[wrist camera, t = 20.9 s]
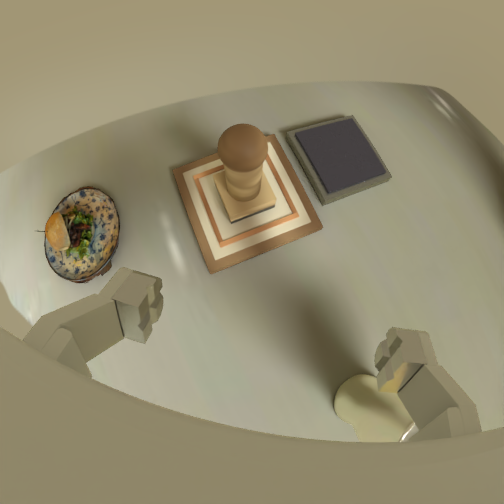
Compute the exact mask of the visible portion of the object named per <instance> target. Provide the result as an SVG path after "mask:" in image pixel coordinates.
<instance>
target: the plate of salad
mask: <svg viewBox="0 0 504 504" xmlns="http://www.w3.org/2000/svg"><path fill="white" fill-rule="evenodd" d="M119 230H120V221H119V215H118V212H117V209H116V206H115V203H114V201H113V199H112V198H110V197H109V196H108V195H106V194H105V193H103V192H102V191H101V190H99V189H96V188H93V187H82V188H79V189H78V190H77V191H76V192H74V193H70V194H69V195H68V196H67V197H64V198H63V199H62V200H61V202H60V203H59V204H58V205H57V207H56V208H55V210H54V211H53V213H52V215H51V217H50V218H49V219H48V221H47V223H46V227H45V231H38V232H45V243H44V247H45V255H46V258H47V260H48V263H49V265H50V267H51V268H52V269H53V270H54V272H55V273H56V274H58V275H59V276H60V277H62V278H64V279H66V280H69V281H71V282H75V283H85V282H86V281H90V280H91V278H92V279H93V278H94V277H95V276H99V275H100V274H101V275H103V274H104V273H106V272H107V270H108V271H109V269H110V268H111V267H112V266H111V262H110V261H111V259H112V257H113V255H114V253H115V251H116V249H117V247H118V237H119ZM86 283H88V282H86Z"/></svg>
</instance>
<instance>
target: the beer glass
mask: <svg viewBox="0 0 504 504" xmlns="http://www.w3.org/2000/svg"><path fill="white" fill-rule="evenodd" d="M397 394H398V393H389V392H379V391H378V386H377V378H375V377H374V376H371V375H368V374H359V375H355V376H353V377H351V378H349V379H347V380H346V381H345V382H344V383H343V384H342V385H341V386H340V387H339V389H338V391H337V393H336V395H335V399H334V409H335V412H336V414H337V416H338V417H339V418H340V419H341V420H342V421H344V422H346V423H349V424H351V425H352V426H353V428H354V430H355V433H356V435H357V437H358V440H359V442H407V441H409V438H410V437H411V436H413V435H414V434H415V433H417V432H418V431H419V430H418V428H417V426H416V425H415V423H414V421H413V420H412V418H411V416H410V415H409V413H408V411H407V410H406V408H405V406H404V405H403V403H402V401H401V400H400V398H399V397H398V395H397Z"/></svg>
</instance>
